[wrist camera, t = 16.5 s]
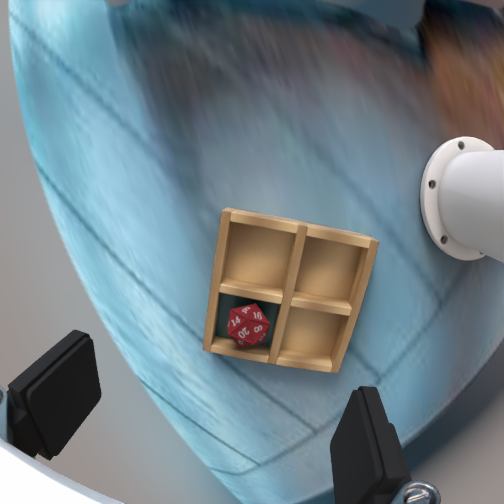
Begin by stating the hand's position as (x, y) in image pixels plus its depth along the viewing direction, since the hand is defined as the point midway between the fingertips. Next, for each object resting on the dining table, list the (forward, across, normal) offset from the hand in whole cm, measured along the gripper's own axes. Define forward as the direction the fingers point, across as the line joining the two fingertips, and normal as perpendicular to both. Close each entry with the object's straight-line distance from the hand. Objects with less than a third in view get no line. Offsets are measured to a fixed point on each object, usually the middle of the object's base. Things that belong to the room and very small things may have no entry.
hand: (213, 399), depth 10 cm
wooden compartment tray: (+20, -3, +3) cm, 20 cm away
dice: (+19, 0, +6) cm, 20 cm away
